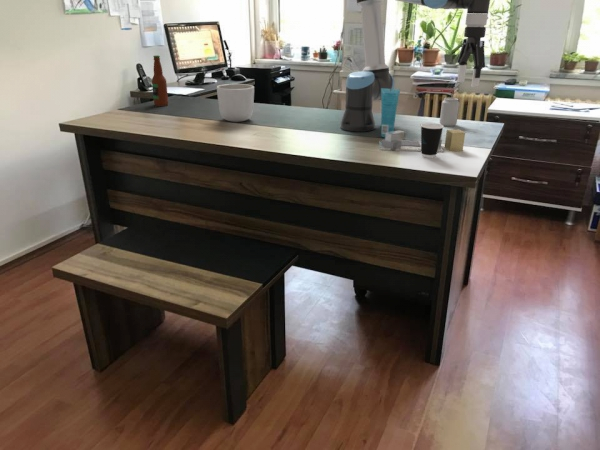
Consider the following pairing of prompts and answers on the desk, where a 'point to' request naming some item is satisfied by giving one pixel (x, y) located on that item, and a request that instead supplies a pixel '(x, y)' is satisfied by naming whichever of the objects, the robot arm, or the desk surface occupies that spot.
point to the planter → (236, 101)
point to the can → (449, 112)
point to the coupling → (454, 140)
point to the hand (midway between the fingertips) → (467, 84)
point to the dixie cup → (430, 139)
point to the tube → (388, 109)
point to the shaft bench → (401, 142)
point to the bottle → (159, 84)
